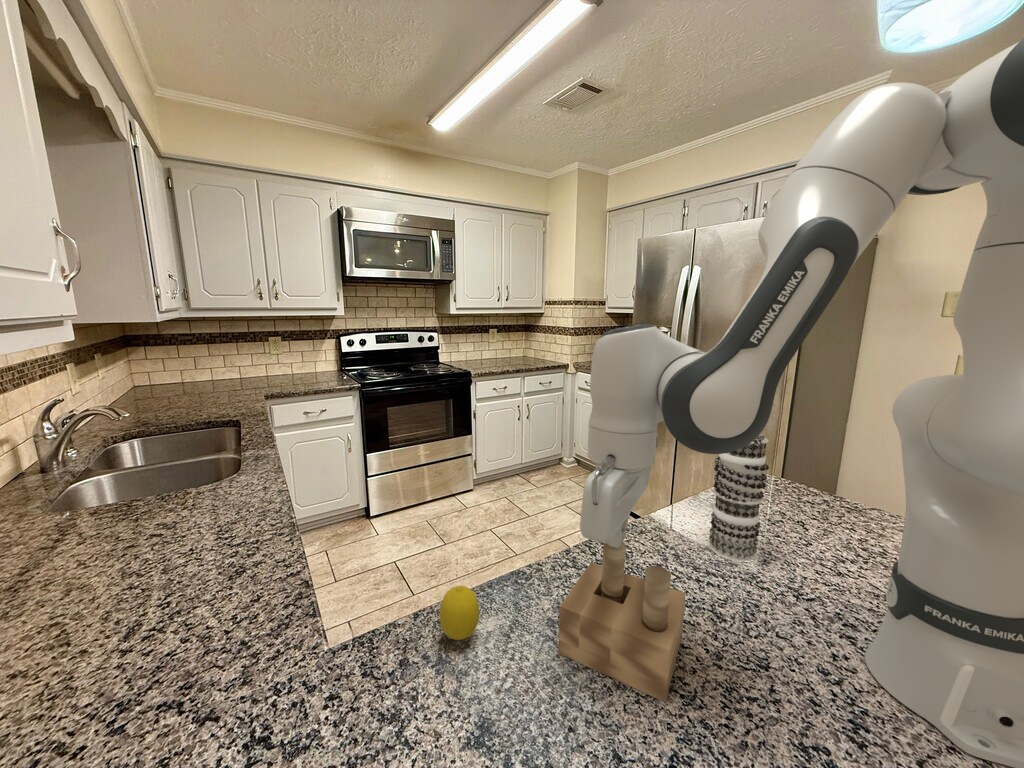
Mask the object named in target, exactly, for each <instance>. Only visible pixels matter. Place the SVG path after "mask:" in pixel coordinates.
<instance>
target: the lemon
mask: <svg viewBox="0 0 1024 768" xmlns="http://www.w3.org/2000/svg"><path fill="white" fill-rule="evenodd" d="M479 619H480V605H479V601H478V598H477V595H476V594H475V592H474V590H472V589H471V588H469V587H468V586H465V585H456V586H453V587H452V588H450V589H448V590H447V592H446V593H445V594H444V596H443V598H442V600H441V604H440V609H439V622H440V625H441V629H442V631H443V632H444V634H445V635H446V636H447V637H449V638H450V639H453V640H456V641H460V640H465V639H467V638H469V637H470V636H471V635H472V634H473V633H474V632H475V630H476V628H477V626H478V625H479V621H480V620H479Z"/></svg>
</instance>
